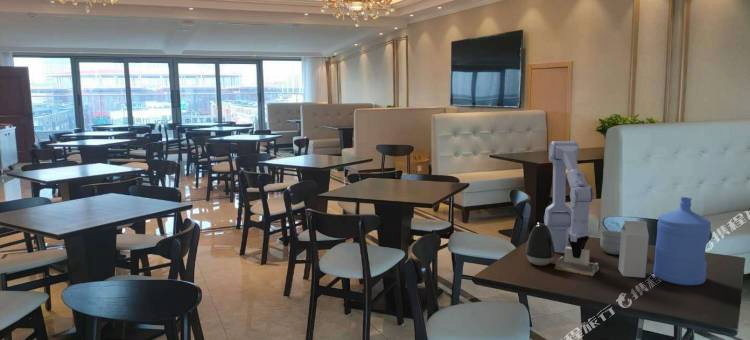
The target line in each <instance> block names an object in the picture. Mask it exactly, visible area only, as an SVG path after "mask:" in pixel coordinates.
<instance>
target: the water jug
mask: <svg viewBox="0 0 750 340" xmlns="http://www.w3.org/2000/svg"><path fill="white" fill-rule="evenodd" d="M692 200H693V199H692V198H691V197H686V196H683V197H682V196H681V197H680V203H679V209H676V210H673V211H669V212H666V213H663V214H660V215H659V216H658V219H657V220H658V221H657V225H656V228H657V232H656V242H655V246H654V248H655V250H654V251H655V253H654V254H655V256H654V266H653V272H652V273H653V275H654V276H655V277H656V278H658V279H659V280H661V281H663V282H666V283H670V284H675V285H678V286H679V285H680V286H700V285H703V284H704V283H705V282H706V277H707V274H706V273H707V264H708V262H707V260H706V259H705V257H706V248H707V244H708V243H709V242H710V235H711V230H712V228H711V224H712V223H711V221H710V220H709V219H707V218H706V217H703V216H702V215H700V214H698V213H696V212H694V211H692V209H691V207H692V206H691V205H692Z"/></svg>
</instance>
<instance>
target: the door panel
mask: <svg viewBox="0 0 750 340" xmlns="http://www.w3.org/2000/svg"><path fill="white" fill-rule="evenodd" d="M563 258H564V262H569V263H574V264H579V265H585V266H589V262H590V250H589V249H585V248H584V249H582V251H581V256H580V258H574V257H573V253H572V248H571V246H569V247H566V248H565V253H564V256H563Z"/></svg>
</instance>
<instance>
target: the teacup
mask: <svg viewBox="0 0 750 340" xmlns="http://www.w3.org/2000/svg"><path fill="white" fill-rule="evenodd" d="M599 241H600V243H599V245H600V248H601V249H602V250H603V251H604V252H605V253H607V254H610V255H618V256H619V254H620V241H621V231H616V230H602V231H600V239H599Z"/></svg>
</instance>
